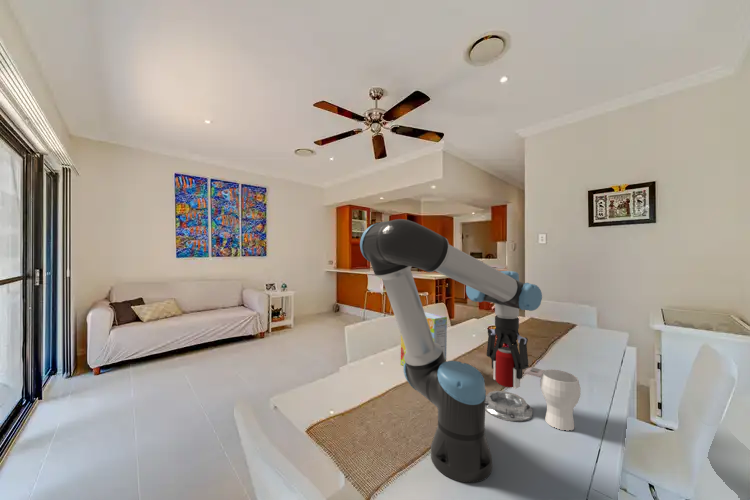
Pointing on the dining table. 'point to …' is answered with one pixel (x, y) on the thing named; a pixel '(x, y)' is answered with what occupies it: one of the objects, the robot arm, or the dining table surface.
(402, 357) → the snack box
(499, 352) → the beverage can
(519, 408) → the flange
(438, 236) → the robot arm
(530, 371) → the remote control
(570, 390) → the cup
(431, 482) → the dining table surface
